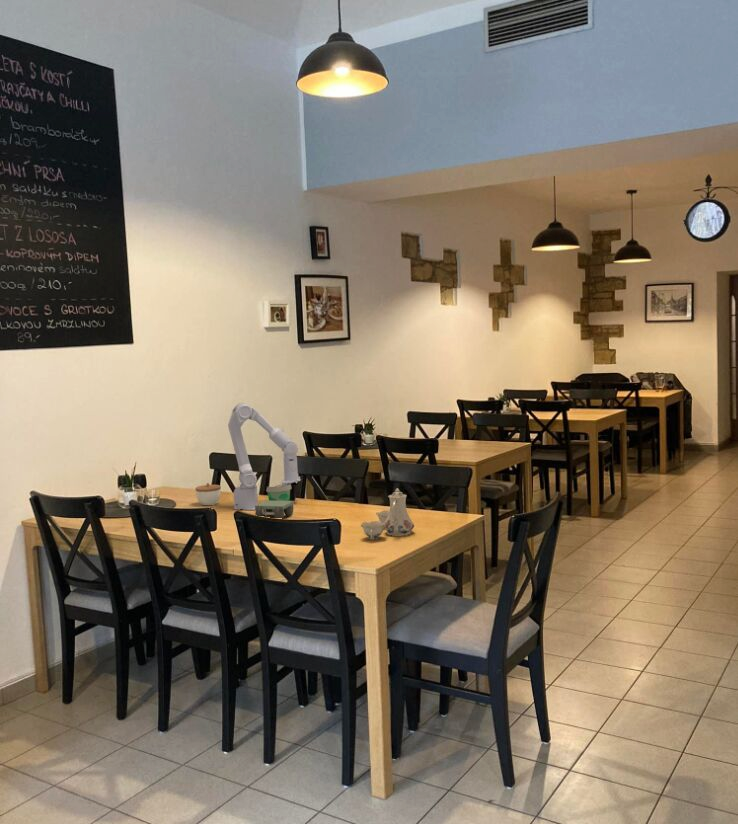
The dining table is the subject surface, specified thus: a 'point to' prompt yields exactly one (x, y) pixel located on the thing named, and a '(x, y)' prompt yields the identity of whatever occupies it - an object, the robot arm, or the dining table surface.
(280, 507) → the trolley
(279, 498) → the food container
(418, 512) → the dining table surface
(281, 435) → the robot arm
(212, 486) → the lidded jar
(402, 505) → the chinaware
